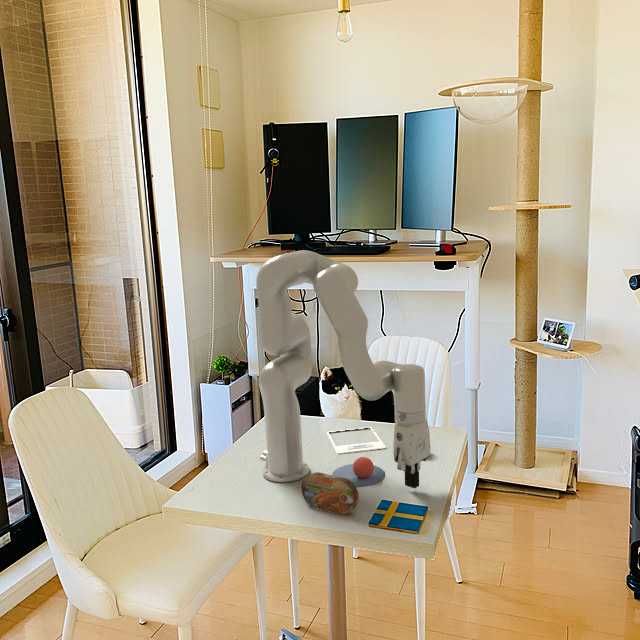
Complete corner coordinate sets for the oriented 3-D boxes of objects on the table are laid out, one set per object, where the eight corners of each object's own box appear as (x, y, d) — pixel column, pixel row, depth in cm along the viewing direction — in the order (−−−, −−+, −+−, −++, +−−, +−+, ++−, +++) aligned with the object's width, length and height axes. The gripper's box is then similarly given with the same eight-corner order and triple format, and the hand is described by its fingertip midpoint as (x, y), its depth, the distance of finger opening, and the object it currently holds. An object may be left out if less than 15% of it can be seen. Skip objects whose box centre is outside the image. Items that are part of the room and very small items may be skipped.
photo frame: (337, 452, 187) (326, 431, 205) (337, 456, 188) (326, 434, 205) (386, 446, 190) (371, 426, 207) (386, 450, 190) (371, 429, 207)
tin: (301, 504, 158) (299, 472, 157) (308, 499, 161) (306, 467, 159) (354, 519, 150) (352, 484, 148) (361, 513, 152) (359, 479, 151)
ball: (345, 464, 171) (359, 457, 167) (357, 458, 175) (371, 451, 172) (354, 484, 170) (369, 477, 166) (366, 476, 174) (381, 470, 171)
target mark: (321, 477, 172) (321, 477, 172) (354, 460, 183) (353, 459, 183) (363, 491, 163) (363, 490, 163) (395, 472, 173) (395, 471, 173)
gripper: (405, 427, 150) (408, 501, 154) (439, 409, 161) (441, 479, 165) (379, 421, 155) (382, 493, 158) (414, 404, 166) (415, 472, 169)
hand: (412, 485), depth 161 cm, fingers closed
